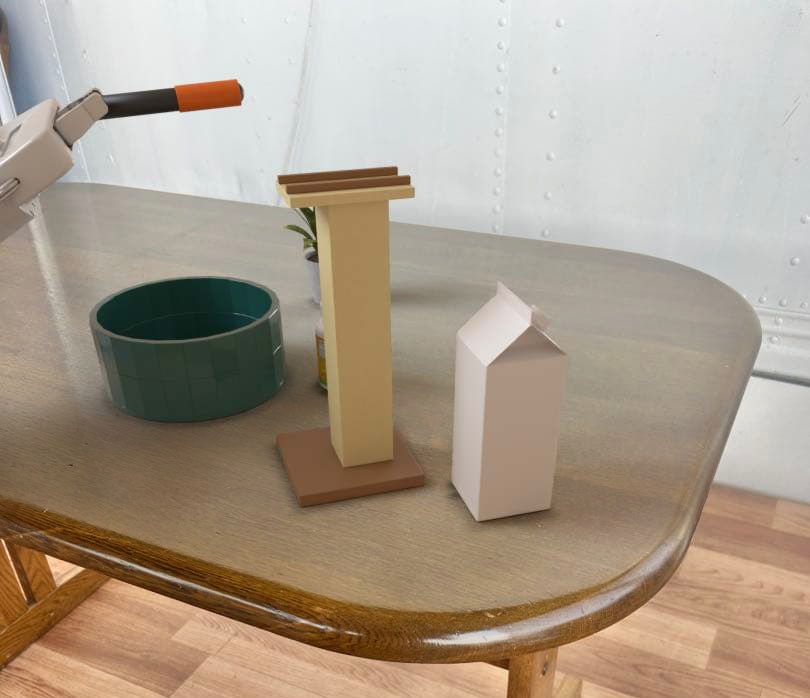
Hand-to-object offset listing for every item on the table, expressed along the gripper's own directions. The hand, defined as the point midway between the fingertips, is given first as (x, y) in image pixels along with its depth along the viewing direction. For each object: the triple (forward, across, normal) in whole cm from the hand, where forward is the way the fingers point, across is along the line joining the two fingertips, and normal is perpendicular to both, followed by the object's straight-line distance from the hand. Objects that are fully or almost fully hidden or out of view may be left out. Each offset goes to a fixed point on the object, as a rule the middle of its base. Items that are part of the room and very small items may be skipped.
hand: (103, 97), depth 76 cm
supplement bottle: (+2, -5, +36) cm, 37 cm away
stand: (-1, -23, +34) cm, 41 cm away
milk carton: (+10, -33, +40) cm, 53 cm away
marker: (+4, 0, +4) cm, 6 cm away
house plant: (+7, +21, +39) cm, 45 cm away
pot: (-11, +1, +28) cm, 30 cm away
